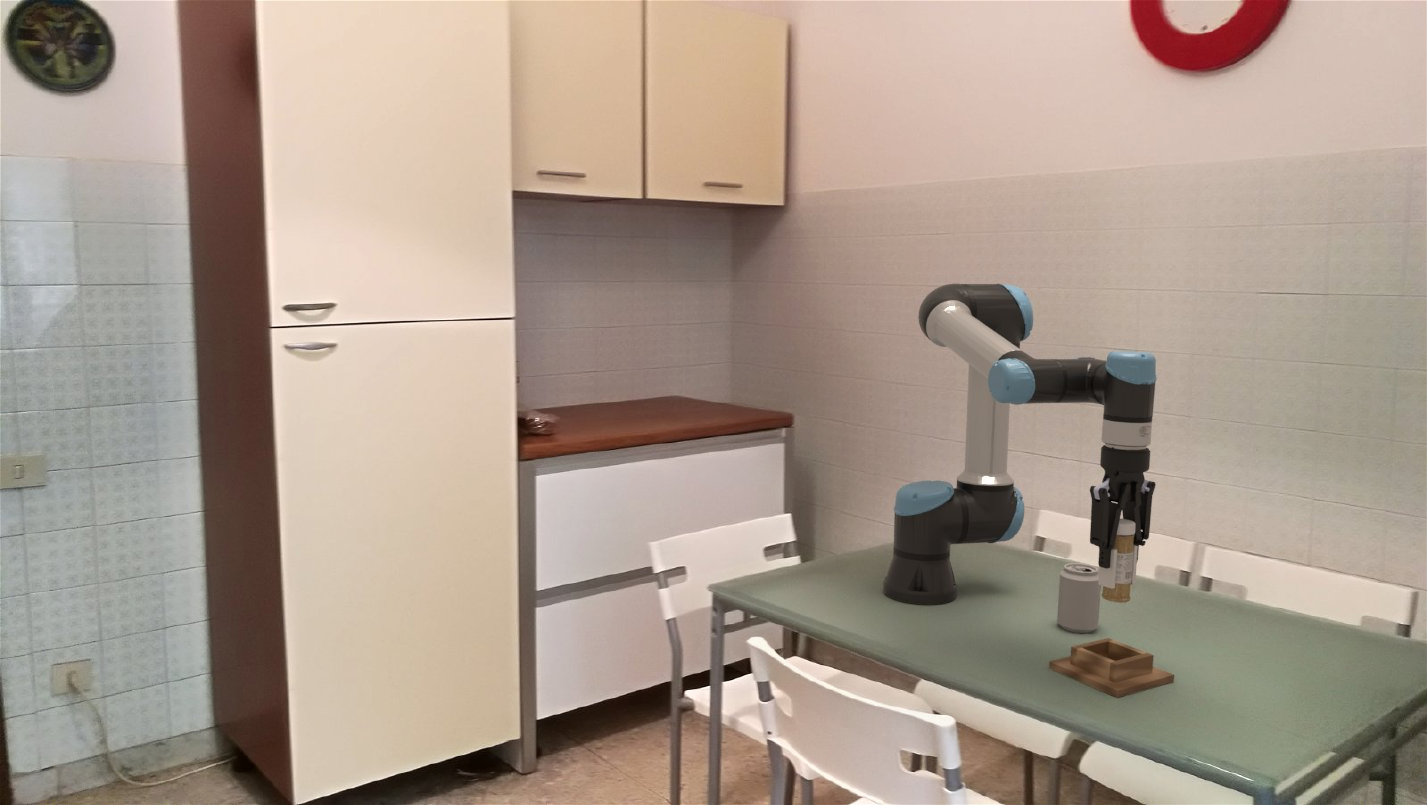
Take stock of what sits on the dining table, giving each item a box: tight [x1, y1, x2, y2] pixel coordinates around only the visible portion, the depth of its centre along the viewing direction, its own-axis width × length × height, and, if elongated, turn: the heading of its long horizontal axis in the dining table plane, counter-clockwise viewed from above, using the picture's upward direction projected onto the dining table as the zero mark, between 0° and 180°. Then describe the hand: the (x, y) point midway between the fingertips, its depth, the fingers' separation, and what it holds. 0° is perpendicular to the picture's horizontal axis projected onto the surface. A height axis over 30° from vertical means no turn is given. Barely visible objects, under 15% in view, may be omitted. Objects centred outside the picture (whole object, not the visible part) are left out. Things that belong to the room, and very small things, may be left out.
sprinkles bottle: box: [1101, 518, 1135, 604], centre depth 172 cm, size 5×5×14 cm
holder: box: [1048, 637, 1175, 699], centre depth 174 cm, size 14×14×4 cm
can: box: [1056, 562, 1102, 634], centre depth 197 cm, size 8×8×12 cm
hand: (1116, 583), depth 172 cm, fingers closed on sprinkles bottle, 4 cm apart
